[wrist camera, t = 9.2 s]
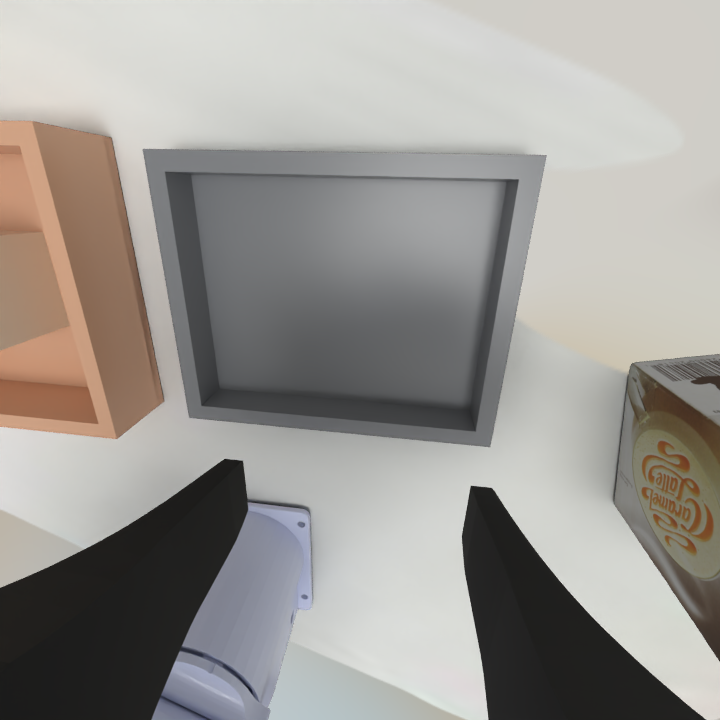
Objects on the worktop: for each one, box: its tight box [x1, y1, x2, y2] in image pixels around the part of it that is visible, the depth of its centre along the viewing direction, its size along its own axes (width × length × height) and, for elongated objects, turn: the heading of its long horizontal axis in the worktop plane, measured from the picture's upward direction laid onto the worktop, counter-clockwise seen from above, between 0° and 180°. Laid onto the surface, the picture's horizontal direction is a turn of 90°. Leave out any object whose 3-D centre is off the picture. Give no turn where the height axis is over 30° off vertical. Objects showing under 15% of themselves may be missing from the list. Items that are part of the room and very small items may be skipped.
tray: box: [143, 149, 547, 447], centre depth 18 cm, size 13×16×2 cm
